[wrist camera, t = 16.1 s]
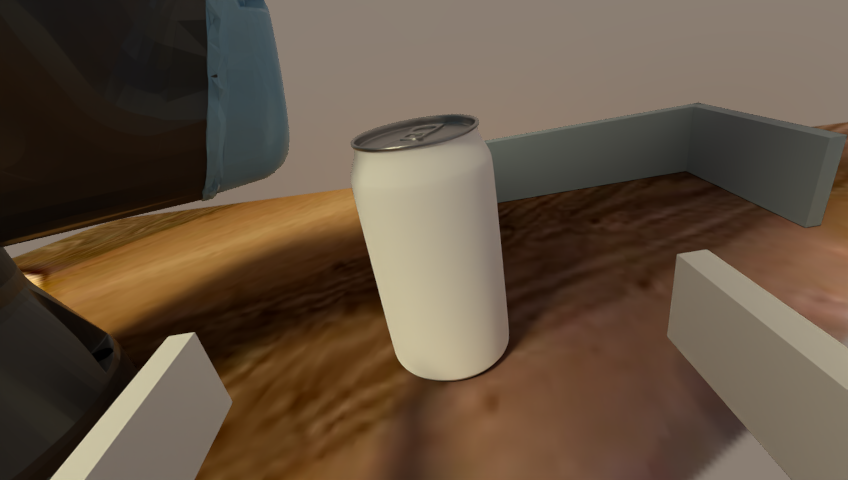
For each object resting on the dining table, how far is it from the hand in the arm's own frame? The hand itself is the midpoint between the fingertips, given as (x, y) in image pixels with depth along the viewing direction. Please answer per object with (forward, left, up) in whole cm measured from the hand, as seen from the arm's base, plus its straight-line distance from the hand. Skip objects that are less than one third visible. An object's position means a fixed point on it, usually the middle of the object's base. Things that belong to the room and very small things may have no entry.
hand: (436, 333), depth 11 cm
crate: (+9, +24, -8) cm, 27 cm away
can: (-2, +9, -8) cm, 12 cm away
